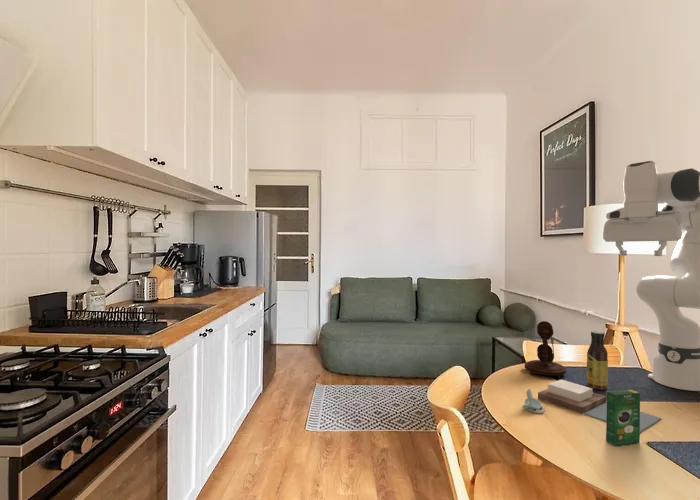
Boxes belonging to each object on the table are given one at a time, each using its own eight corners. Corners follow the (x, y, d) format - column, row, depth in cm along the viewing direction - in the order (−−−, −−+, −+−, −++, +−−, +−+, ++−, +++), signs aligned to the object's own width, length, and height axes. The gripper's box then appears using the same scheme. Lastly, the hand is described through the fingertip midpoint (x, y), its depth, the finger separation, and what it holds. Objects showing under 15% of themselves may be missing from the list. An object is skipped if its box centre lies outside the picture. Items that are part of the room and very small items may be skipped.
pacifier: (546, 408, 119) (525, 403, 122) (546, 388, 119) (525, 384, 122) (543, 417, 113) (521, 411, 116) (544, 396, 113) (522, 391, 116)
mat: (607, 402, 122) (607, 401, 122) (661, 419, 111) (661, 417, 111) (583, 414, 114) (583, 413, 114) (639, 433, 102) (639, 431, 102)
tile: (561, 386, 131) (561, 379, 131) (592, 396, 123) (592, 388, 123) (548, 391, 127) (548, 384, 127) (579, 401, 118) (579, 393, 118)
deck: (562, 389, 134) (562, 383, 134) (606, 402, 123) (606, 396, 122) (537, 398, 126) (537, 392, 126) (582, 413, 114) (582, 407, 114)
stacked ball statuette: (567, 381, 142) (567, 327, 142) (524, 376, 148) (524, 324, 148) (564, 370, 155) (564, 320, 155) (524, 365, 162) (524, 318, 161)
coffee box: (630, 437, 100) (630, 387, 100) (641, 443, 97) (641, 391, 97) (605, 441, 98) (605, 390, 98) (615, 447, 95) (615, 394, 95)
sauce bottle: (585, 383, 140) (585, 329, 140) (606, 385, 137) (606, 330, 137) (588, 389, 134) (588, 332, 134) (609, 392, 131) (609, 334, 131)
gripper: (685, 210, 115) (685, 256, 115) (609, 215, 132) (609, 255, 132) (678, 209, 111) (677, 256, 111) (600, 214, 128) (600, 255, 129)
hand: (640, 255), depth 122 cm, fingers open, 8 cm apart
